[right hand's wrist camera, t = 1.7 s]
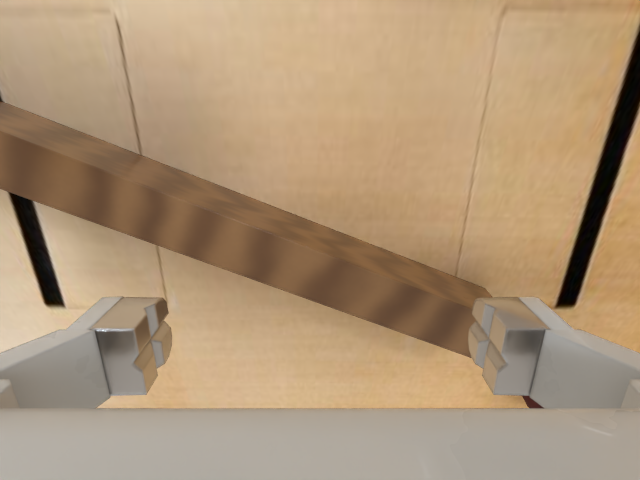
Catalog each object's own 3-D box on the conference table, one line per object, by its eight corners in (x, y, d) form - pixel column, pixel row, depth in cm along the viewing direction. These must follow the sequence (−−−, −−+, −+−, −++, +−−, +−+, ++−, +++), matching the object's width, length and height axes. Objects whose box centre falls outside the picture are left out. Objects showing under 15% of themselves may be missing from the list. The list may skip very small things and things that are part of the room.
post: (485, 288, 46) (516, 325, 38) (463, 322, 48) (489, 364, 40) (-56, 78, 38) (-150, 74, 31) (-58, 128, 40) (-147, 136, 32)
